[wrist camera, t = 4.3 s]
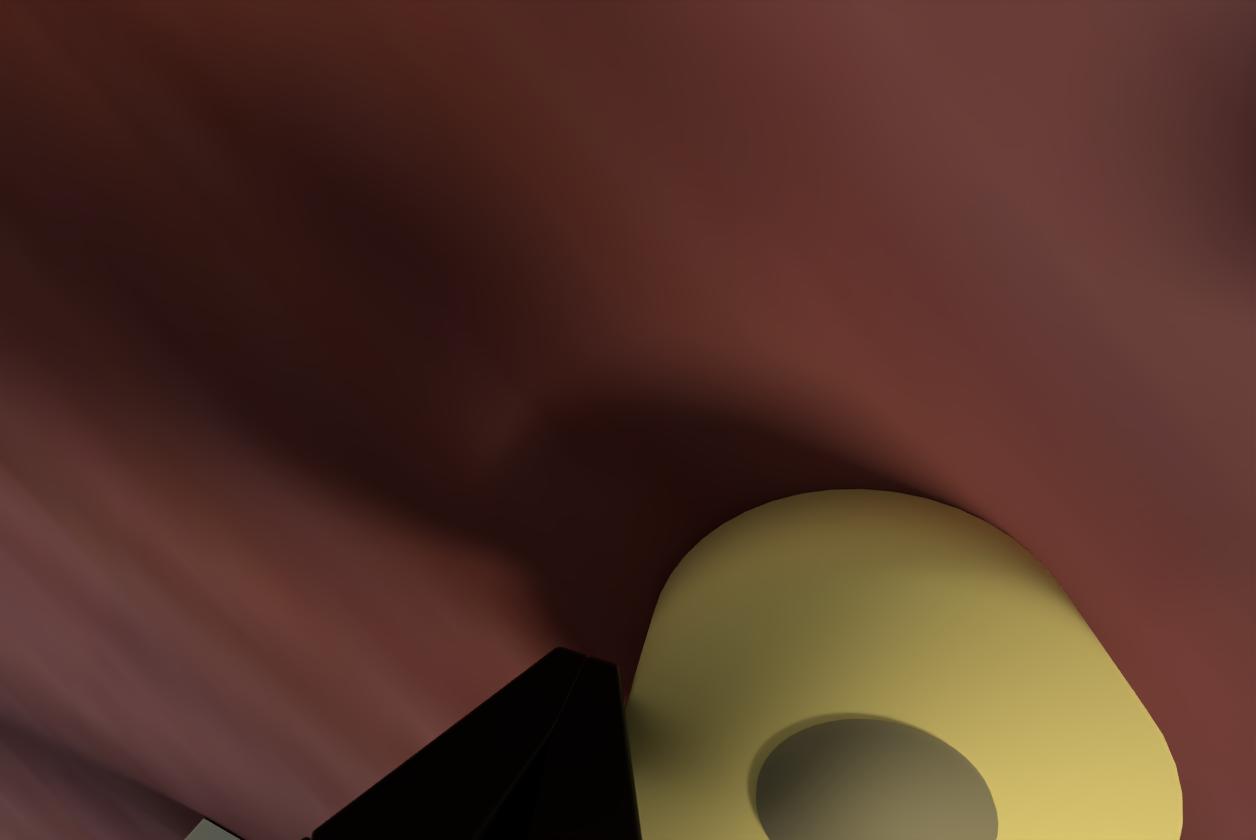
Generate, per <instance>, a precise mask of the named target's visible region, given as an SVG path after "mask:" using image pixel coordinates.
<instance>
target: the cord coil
mask: <svg viewBox="0 0 1256 840" xmlns="http://www.w3.org/2000/svg"><path fill="white" fill-rule="evenodd" d="M625 714H626V721H627V728H628V736H629V743H630V751H631V758H632V766H633V773H634V781H635V788H636V795H637V803H638V810H639V818H640V825H641V833H642V840H1180V835H1181V830H1182V824H1183V814H1182V791H1181V787H1180V782H1179V778H1178V773H1177V769H1176V764H1175V762H1174V760H1173V757H1172V755H1171V753H1170V750H1169V748H1168V746H1167V743H1166V741H1165V739H1164V737H1163V734H1162V733H1161V731H1160V730H1159V728H1158V727H1157V725H1156V724H1155V722H1154V721H1153V719H1152V718H1151V716H1150V715H1149V713H1148V712H1147V710H1146V709H1145V707H1144V706H1143V704H1142V703H1141V701H1140V700H1139V698H1138V697H1137V695H1136V694H1135V693H1134V691H1133V690H1132V688H1131V687H1130V685H1129V684H1128V682H1127V681H1126V680H1125V678H1124V677H1123V675H1122V674H1121V672H1120V671H1119V669H1118V668H1117V667H1116V665H1115V664H1114V662H1113V661H1112V659H1111V658H1110V656H1109V655H1108V654H1107V652H1106V651H1105V649H1104V648H1103V646H1102V645H1101V643H1100V642H1099V641H1098V639H1097V638H1096V636H1095V635H1094V633H1093V632H1092V630H1091V629H1090V628H1089V626H1088V625H1087V623H1086V622H1085V620H1084V619H1083V617H1082V616H1081V615H1080V613H1079V612H1078V610H1077V609H1076V607H1075V606H1074V604H1073V603H1072V602H1071V600H1070V599H1069V597H1068V596H1067V594H1066V593H1065V591H1064V590H1063V589H1062V587H1061V586H1060V584H1059V583H1058V581H1057V580H1056V579H1055V578H1054V576H1053V575H1052V574H1051V573H1050V572H1049V571H1048V570H1047V569H1046V568H1045V566H1044V565H1043V564H1042V563H1041V562H1040V561H1039V560H1038V559H1037V558H1036V557H1035V556H1034V555H1033V554H1031V553H1030V552H1029V551H1028V550H1027V549H1025V548H1024V547H1023V546H1022V545H1021V544H1019V543H1018V542H1017V541H1016V540H1015V539H1013V538H1012V537H1010V536H1008V535H1007V534H1005V533H1004V532H1002V531H1001V530H999V529H997V528H996V527H994V526H993V525H991V524H989V523H988V522H986V521H984V520H982V519H979V518H977V517H975V516H973V515H971V514H969V513H967V512H964V511H962V510H960V509H958V508H955V507H952V506H949V505H946V504H943V503H940V502H937V501H934V500H930V499H927V498H923V497H918V496H913V495H908V494H903V493H898V492H891V491H880V490H869V489H838V490H825V491H818V492H811V493H803V494H798V495H794V496H790V497H787V498H783V499H779V500H775V501H771V502H769V503H766V504H764V505H761V506H759V507H756V508H753V509H751V510H748V511H746V512H744V513H742V514H740V515H739V516H737V517H735V518H733V519H731V520H729V521H727V522H726V523H724V524H722V525H721V526H719V527H718V528H717V529H715V530H714V531H713V532H711V533H710V534H708V535H707V536H706V537H704V538H703V539H702V540H701V541H700V542H699V543H698V544H697V545H695V546H694V547H693V548H692V549H691V550H690V551H689V552H688V553H687V554H686V555H685V556H684V558H683V559H682V560H681V561H680V563H679V564H678V565H677V567H676V568H675V569H674V571H673V572H672V573H671V575H670V577H669V578H668V580H667V582H666V584H665V586H664V588H663V590H662V591H661V593H660V596H659V599H658V601H657V604H656V607H655V610H654V613H653V616H652V620H651V623H650V626H649V630H648V633H647V636H646V640H645V643H644V646H643V650H642V653H641V656H640V660H639V663H638V667H637V670H636V673H635V677H634V680H633V683H632V687H631V690H630V693H629V697H628V700H627V703H626V707H625Z"/></svg>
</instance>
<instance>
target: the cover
mask: <svg viewBox="0 0 1256 840" xmlns="http://www.w3.org/2000/svg"><path fill="white" fill-rule="evenodd" d="M184 840H240V839H238V838H237V837H235V836H233V835H232V834H230V833H228V832H226V831H225V830H223V829H221V828H220V827H218V826H216V825H214V824H213V823H211V822H209V821H208V820H206V819H204V818H203V820H202V821H201V822H200V823H199V824H198V825H197V826H196V827H195V828H194V829H193V831H192V832H191V833H190V834H189V835H188V836H187V837H186V838H185V839H184Z"/></svg>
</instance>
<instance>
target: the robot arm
mask: <svg viewBox="0 0 1256 840" xmlns="http://www.w3.org/2000/svg"><path fill="white" fill-rule="evenodd" d="M301 840H642V833H641V825H640V818H639V810H638V803H637V795H636V788H635V781H634V773H633V766H632V758H631V751H630V743H629V736H628V728H627V721H626V714H625V706H624V699H623V691H622V684H621V676H620V670H619V667H618V666H617V665H616V664H615V663H612V662H608V661H605V660H602V659H599V658H596V657H592V656H590V657H587V655H585V654H583V653H580V652H576V651H573V650H570V649H567V648H564V647H557V648H555V649H553V650H552V651H551V652H549V653H548V654H547V655H545V656H544V657H543V658H542V659H540V660H539V661H538V662H536V663H535V664H534V665H532V666H531V667H530V668H528V669H527V670H526V671H524V672H523V673H522V674H520V675H519V676H518V677H516V678H515V679H514V680H512V681H511V682H510V683H508V684H507V685H506V686H504V687H503V688H502V689H500V690H499V691H498V692H497V693H495V694H494V695H493V696H491V697H490V698H489V699H487V700H486V701H485V702H483V703H482V704H481V705H479V706H478V707H477V708H475V709H474V710H473V711H471V712H470V713H469V714H467V715H466V716H465V717H463V718H462V719H461V720H459V721H458V722H457V723H455V724H454V725H453V726H451V727H450V728H449V729H447V730H446V731H445V732H444V733H442V734H441V735H440V736H438V737H437V738H436V739H434V740H433V741H432V742H430V743H429V744H428V745H426V746H425V747H424V748H422V749H421V750H420V751H418V752H417V753H416V754H414V755H413V756H412V757H410V758H409V759H408V760H406V761H405V762H404V763H402V764H401V765H400V766H398V767H397V768H396V769H395V770H393V771H392V772H391V773H389V774H388V775H387V776H385V777H384V778H383V779H381V780H380V781H379V782H377V783H376V784H375V785H373V786H372V787H371V788H369V789H368V790H367V791H365V792H364V793H363V794H361V795H360V796H359V797H357V798H356V799H355V800H353V801H352V802H351V803H349V804H348V805H347V806H345V807H344V808H343V809H342V810H340V811H339V812H338V813H336V814H335V815H334V816H332V817H331V818H330V819H328V820H327V821H326V822H324V823H323V824H322V825H320V826H319V827H318V828H316V829H315V830H314V831H313V832H312V836H311V839H310V838H309V837H304V838H302V839H301Z"/></svg>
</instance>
